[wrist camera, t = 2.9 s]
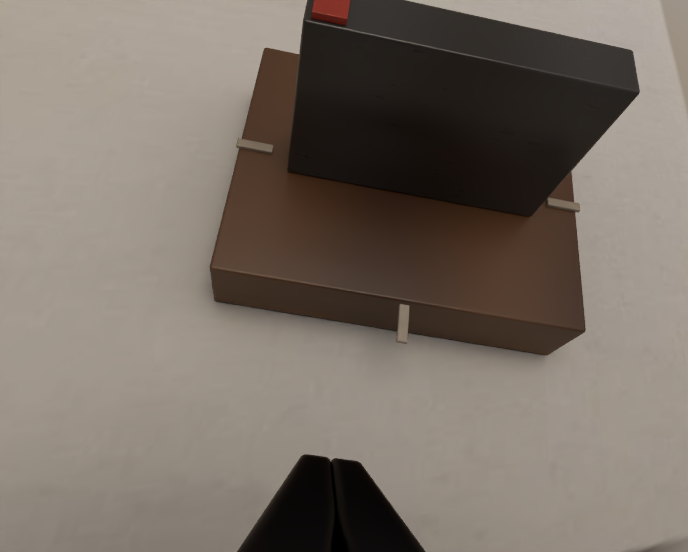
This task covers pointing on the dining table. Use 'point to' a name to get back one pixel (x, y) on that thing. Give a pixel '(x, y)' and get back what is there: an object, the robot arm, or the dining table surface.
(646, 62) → the dining table surface
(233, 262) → the dial panel
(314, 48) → the pointer
